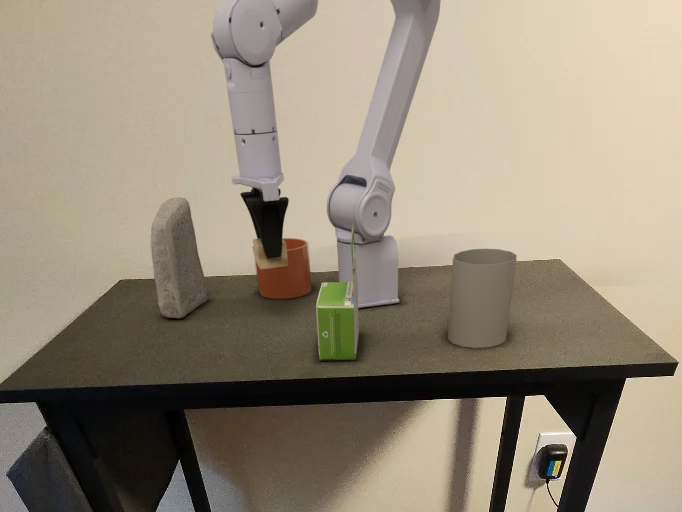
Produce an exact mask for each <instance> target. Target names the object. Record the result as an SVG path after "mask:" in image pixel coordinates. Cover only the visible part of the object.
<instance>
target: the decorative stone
mask: <svg viewBox="0 0 682 512" xmlns="http://www.w3.org/2000/svg"><path fill="white" fill-rule="evenodd" d="M195 231H196V230H195V227H194V221H193V218H192V211H191V206H190V202H189V200H187V198H185V197H182V196H181V197H179V196H177V197H169V198H167V199H166V200H164V201H163V202H162V203H161V204H160V206H159V208H158V210H157V212H156V214H155V216H154V217H153V222H152V225H151V230H150V232H151V233H150V251H151V261H152V268H153V279H154V283H155V288H156V294H157V305H158V308H159V310H160V313H161V315H162V316H163V317H165V318H168V319H183V318H185V317H186V316H187V315H188V314H191V313H192V312H193V311H194V310H196V309H197V308H199V307H200V306H202V305H203V304H205V303H207V301H208V298H209V297H208V292H207V291H208V290H207V284H206V279H205V274H204V270H203V266H202V263H201V259H200V255H199V251H198V246H197V245H198V244H197V237H196V232H195Z"/></svg>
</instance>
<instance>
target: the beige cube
mask: <svg viewBox="0 0 682 512" xmlns="http://www.w3.org/2000/svg"><path fill="white" fill-rule="evenodd" d="M252 244H253V246H254V252H255V259H256V263H257V265H258V266H259V268H260V269H269V268H277V267H286V266H288V258H287V249H286V242H285V241H284V240H283V239H282V253H281V257H276V258H267V257H266V255H265V252H264V249H263V245H262V241H261V238H260V239H257V238H253V239H252Z"/></svg>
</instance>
